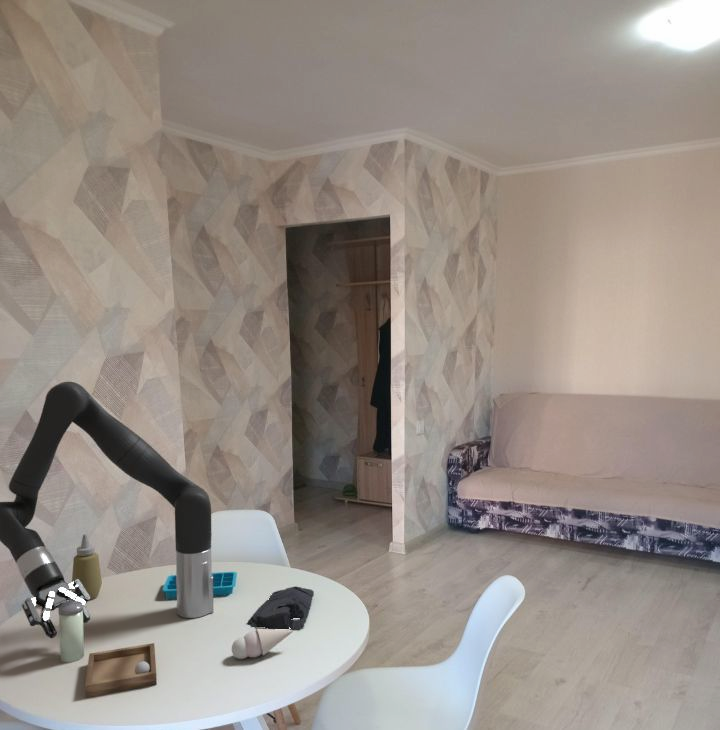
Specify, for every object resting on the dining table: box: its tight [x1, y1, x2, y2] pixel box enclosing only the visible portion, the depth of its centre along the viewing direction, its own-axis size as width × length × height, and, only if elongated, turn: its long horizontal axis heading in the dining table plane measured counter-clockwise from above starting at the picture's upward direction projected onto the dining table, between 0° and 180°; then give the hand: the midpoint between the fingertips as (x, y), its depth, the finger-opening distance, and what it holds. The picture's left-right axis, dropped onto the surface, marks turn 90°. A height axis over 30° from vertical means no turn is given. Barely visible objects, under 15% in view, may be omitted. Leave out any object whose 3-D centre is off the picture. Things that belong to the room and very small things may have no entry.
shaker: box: [57, 601, 85, 664], centre depth 147 cm, size 5×5×12 cm
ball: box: [135, 661, 150, 674], centre depth 137 cm, size 3×3×3 cm
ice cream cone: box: [231, 628, 295, 660], centre depth 148 cm, size 6×6×15 cm
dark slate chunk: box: [247, 586, 315, 630], centre depth 171 cm, size 15×22×5 cm
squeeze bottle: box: [71, 533, 103, 601], centre depth 180 cm, size 8×8×18 cm
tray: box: [84, 642, 158, 698], centre depth 140 cm, size 14×14×2 cm
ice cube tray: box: [162, 571, 238, 600], centre depth 186 cm, size 12×20×3 cm, turn 98°
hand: (71, 628), depth 147 cm, fingers open, 8 cm apart
